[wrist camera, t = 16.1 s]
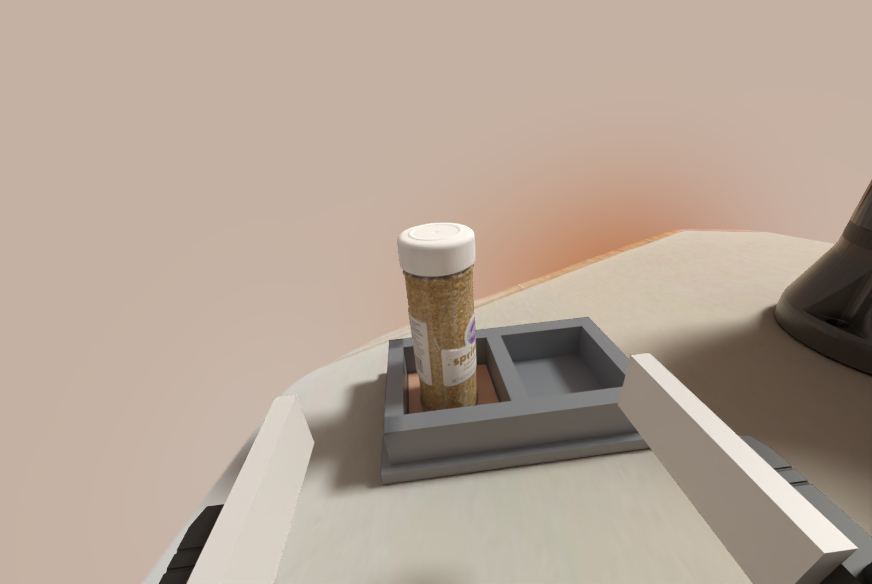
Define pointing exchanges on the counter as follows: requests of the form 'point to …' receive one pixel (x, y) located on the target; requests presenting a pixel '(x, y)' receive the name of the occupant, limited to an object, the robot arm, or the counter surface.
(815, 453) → the counter surface
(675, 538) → the counter surface
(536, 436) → the bottle caddy
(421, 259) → the sprinkles bottle
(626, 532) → the counter surface
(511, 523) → the counter surface
